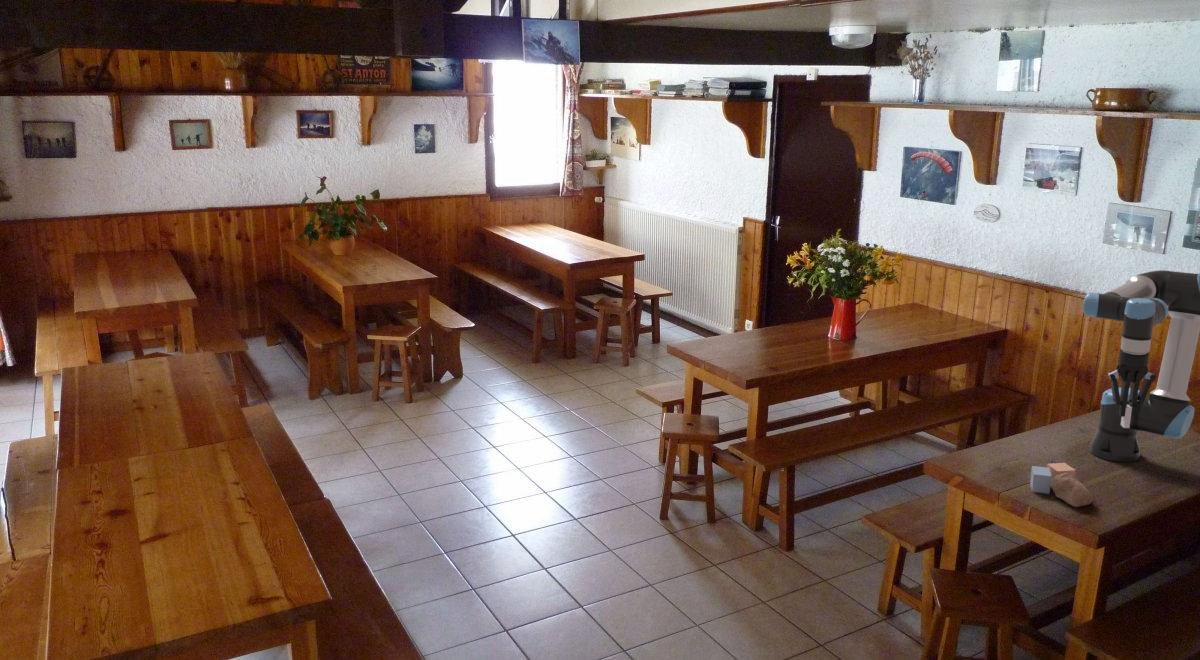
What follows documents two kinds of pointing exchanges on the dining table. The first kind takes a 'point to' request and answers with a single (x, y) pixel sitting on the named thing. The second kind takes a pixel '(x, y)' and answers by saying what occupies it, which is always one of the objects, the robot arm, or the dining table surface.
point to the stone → (1071, 490)
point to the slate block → (1040, 479)
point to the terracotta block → (1060, 469)
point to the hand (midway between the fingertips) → (1124, 426)
